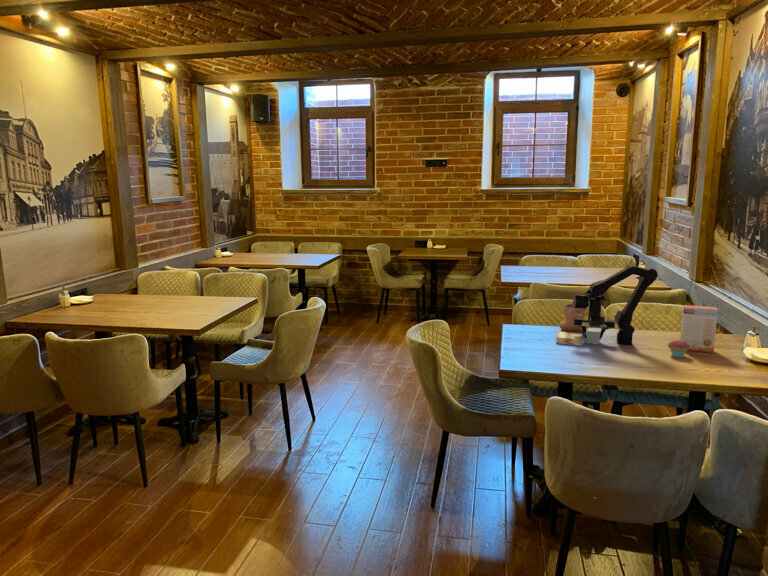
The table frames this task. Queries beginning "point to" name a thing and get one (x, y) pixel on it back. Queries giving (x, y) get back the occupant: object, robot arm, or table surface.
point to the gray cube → (593, 336)
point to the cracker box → (699, 327)
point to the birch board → (569, 338)
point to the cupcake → (678, 347)
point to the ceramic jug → (572, 318)
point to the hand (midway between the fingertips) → (592, 339)
